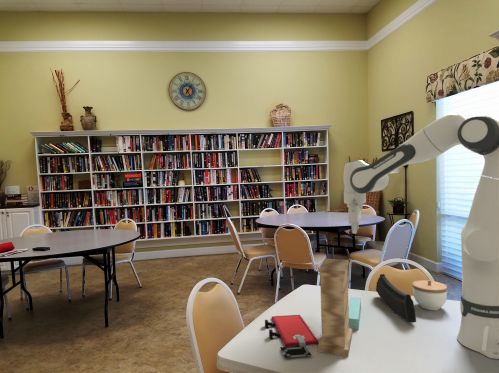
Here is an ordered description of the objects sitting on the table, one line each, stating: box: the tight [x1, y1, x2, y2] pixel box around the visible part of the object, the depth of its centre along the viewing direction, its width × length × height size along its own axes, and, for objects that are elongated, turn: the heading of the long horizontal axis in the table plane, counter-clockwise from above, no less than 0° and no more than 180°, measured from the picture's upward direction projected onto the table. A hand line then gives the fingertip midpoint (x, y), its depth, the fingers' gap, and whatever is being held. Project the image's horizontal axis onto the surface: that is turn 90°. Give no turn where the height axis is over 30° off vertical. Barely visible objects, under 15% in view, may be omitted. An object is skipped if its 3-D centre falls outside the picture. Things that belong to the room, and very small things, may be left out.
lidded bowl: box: [411, 279, 448, 311], centre depth 136 cm, size 13×13×11 cm
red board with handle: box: [264, 314, 320, 359], centre depth 115 cm, size 30×3×15 cm
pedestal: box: [317, 258, 353, 357], centre depth 109 cm, size 9×15×26 cm, turn 158°
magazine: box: [375, 273, 417, 324], centre depth 134 cm, size 17×3×30 cm
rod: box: [348, 296, 362, 331], centre depth 129 cm, size 4×22×4 cm, turn 159°
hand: (355, 231), depth 140 cm, fingers open, 8 cm apart
